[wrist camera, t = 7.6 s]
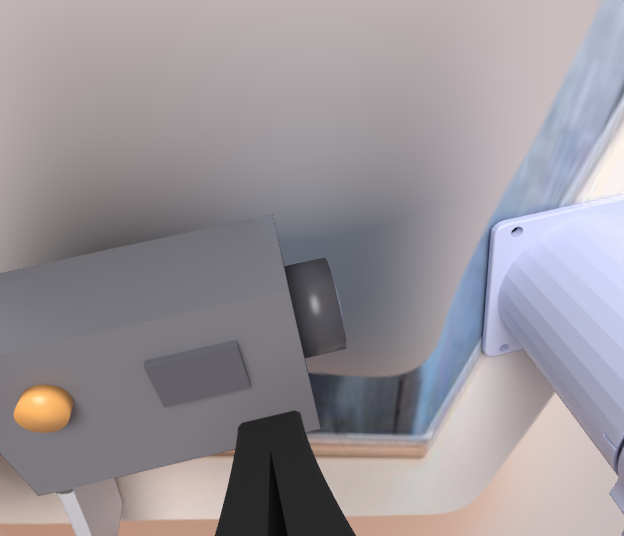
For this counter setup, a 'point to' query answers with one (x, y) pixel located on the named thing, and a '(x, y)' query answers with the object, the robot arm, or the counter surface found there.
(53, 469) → the block
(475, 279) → the counter surface
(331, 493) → the robot arm
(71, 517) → the side door
